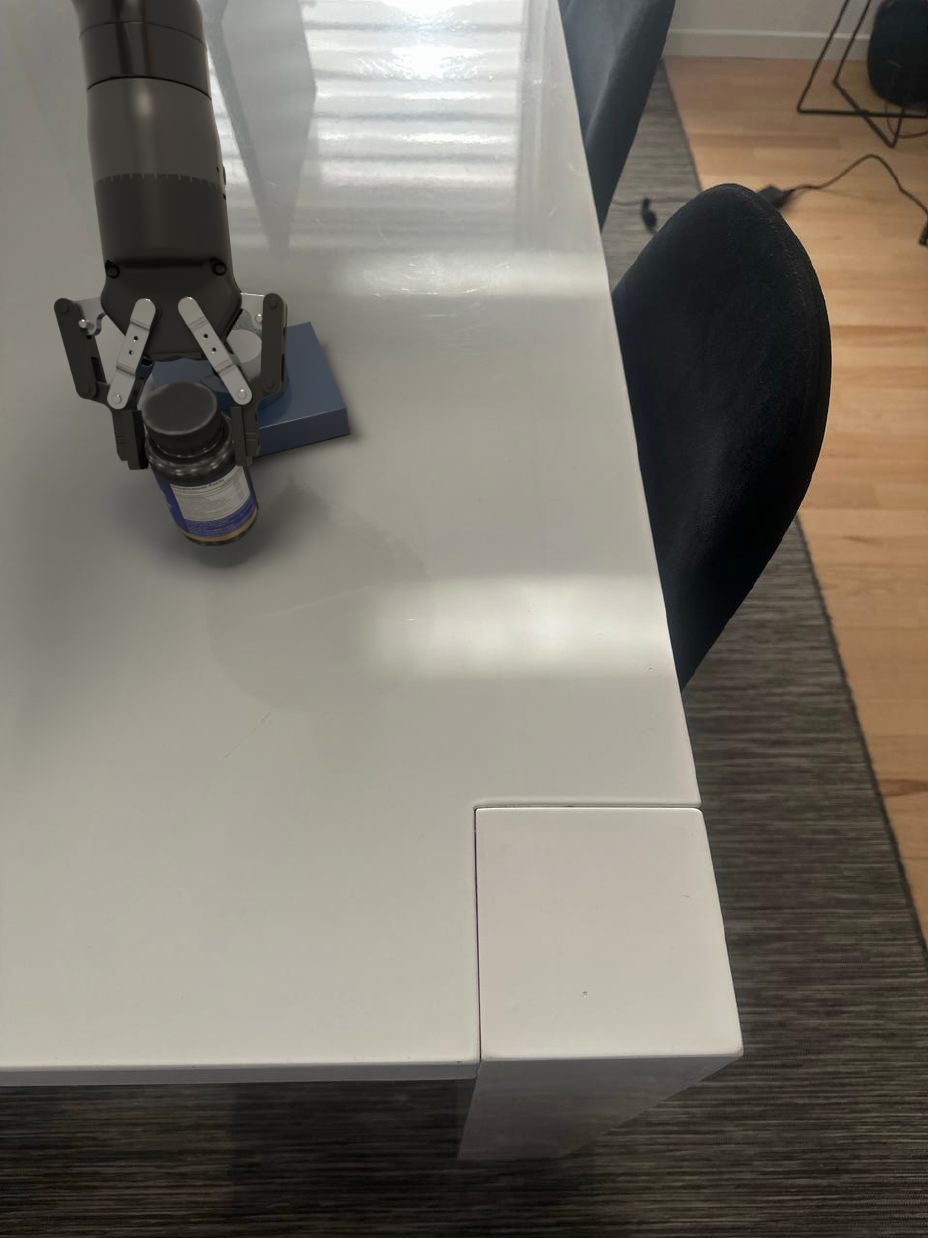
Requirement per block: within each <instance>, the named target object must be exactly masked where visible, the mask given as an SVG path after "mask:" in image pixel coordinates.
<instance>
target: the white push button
mask: <svg viewBox="0 0 928 1238" xmlns="http://www.w3.org/2000/svg"><path fill="white" fill-rule="evenodd" d="M256 334H257V333H255V332H253V331H250V330H246V329H232V331H231V332H230V334H229V336H228V337H227V340H228V342H229V343H230V345H231V347H232V348H233V350H234V352H235V354H236V355H237V357H238V359H239V360H240V362H241V364H242V367H243V369H244V371H245V372H246V374H247V376H248V377H249V379H250V381H252V380H254V379H257V378H258V377H260V374H261V344H262V341H261V339H260V338H259V337H258V336H257V335H256ZM217 374H218V373H217ZM218 376H219V374H218ZM219 377H220V376H219ZM220 378H221V377H220Z"/></svg>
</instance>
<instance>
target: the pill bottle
mask: <svg viewBox="0 0 928 1238" xmlns="http://www.w3.org/2000/svg"><path fill="white" fill-rule="evenodd" d="M141 411H142V413H141V415H142V419H143V422H144V428H145V431H146V432H147V433H146V435H145V436H146V439H145V443H144V444H145V445H144V446H145V447H144V450H145V455H146V458H147V460H148V462H149V467H150V469H151V471H152V473H153V476H154V478H155V481H156V483H157V485H158V487H159V490H160V492H161V494H162V496H163V497H162V498H163V499H164V501H165V503H166V507H167V508H168V511H169V512H170V515H171V517H172V519H173V521H174V525H175V526H176V528H177V530H178V531H179V532H180V533H181V534H182V535H183V536H184V537H185V539H187V540H188V541H190V542H191V543H194V544H196V545H199V546H201V547H221V546H225V545H230V544H233V543H235V542H236V541H238V540H241V539H243V537H245V536H246V535H247V534H248V533H249V532H250V531H251V530H252V529H253V527H254V526H255V524H256V522H257V519H258V515H259V509H260V505H259V503H260V502H259V500H258V496H257V491H256V489H255V485H254V482H253V478H252V475H251V471H250V468H249V466H237V465H236V460H235V450H234V440H233V431H232V421H231V419H230V418H229V417H228V416H227V415H225V414H224V413H222V412H221V410H220V407H219V404H218V401H217V398H216V396H215V395H214V393H213V392H212V391H211V390H210V389H209V388H208V387H206V386H204V385H202V384H200V383H197V382H193V381H176V382H171V383H168V384H165V385H163V386H160V387H158V388H157V389H155V388H154V389H153V390H152V392H150V393H149V394H147V396H146V398H145V399H144V400H143V403H142V405H141Z"/></svg>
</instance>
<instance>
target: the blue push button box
mask: <svg viewBox="0 0 928 1238" xmlns="http://www.w3.org/2000/svg"><path fill="white" fill-rule="evenodd" d="M255 334H256V335H257V336H258V337H259V338H260V339H261V341H262V331H260V332H257V333H255ZM151 377H152V381H153V385H154V390H155V389H157V388H158V387H160V386H163V385H165V384H168V383H171V382H176V381H193V382H197V383H200V384H202V385H204V386H206V387H208V388H209V389H210V390H211V391H212V392H213V393H214V395H215V396H216V398H217V401H218V404H219V407H220V410H221V412H222V413H224V414H225V415H227V416H228V417H229V418H230V419H231V411H230V407H234V400H233V397H232V396H231V394H230V392H229V391H228V389H227V387H226V386H225V384H224V382H223V381H222V379H221V378H220V377H219V376H218V374H217V372H216V371H215V369H214V368H213V366H212V365H211V363H210V361H209V360H206V361H196V360H191V359H187V358H182V359H178V360H175V361H172V362H157V361H156V362H155V365H154V367H153V370H152V373H151ZM258 378H259V377H258ZM257 413H258V423H259V434H260V445H261V448H260V451H259V455H257V456H252V459H254V458H259V457H262V456H265V455H271V454H274V453H278V452H282V451H285V450H290V449H294V448H298V447H302V446H306V445H309V444H315V443H319V442H321V441H325V440H326V441H327V440H330V439H334V438H337V437H342V436H346V435H350V423H349V414H348V407H347V405H346V402H345V400H344V397H343V395H342V392H341V390H340V388H339V386H338V383H337V381H336V379H335V376H334V374H333V372H332V369H331V366H330V365H329V362H328V360H327V358H326V355H325V352H324V350H323V348H322V345H321V343H320V341H319V339H318V336H317V334H316V331H315V329H314V327H313V324H312V322H311V321H307V322H303V323H299V324H293V325H289V326H287V337H286V362H285V386H284V390H283V391H282V392H281V393H279V394H274V395H272V396H270V397H267V398H265V399H263V400H262V401H261V402H260V403H259V404H258V407H257Z"/></svg>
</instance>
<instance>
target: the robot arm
mask: <svg viewBox="0 0 928 1238" xmlns="http://www.w3.org/2000/svg"><path fill="white" fill-rule="evenodd" d="M70 4H71V6H72V10H73V13H74V16H75V20H76V23H77V33H78V42H79V51H80V59H81V65H82V73H83V81H84V88H85V89H84V90H85V93H86V95H85V96H86V115H87V116H86V136H87V147H88V148H87V149H88V155H89V162H90V163H89V164H90V170H91V171H90V172H91V179H92V185H93V192H94V201H95V208H96V215H97V222H98V230H99V237H100V246H101V247H100V248H101V254H102V263H103V268H104V273H105V275H104V276H105V277H104V278H105V280H104V285H103V288H102V289H101V293H100V296H97V297H91V298H85V299H79V300H78V299H77V300H72V299H69V298H66V297H61V298H60V297H59V298H58V299H57V300H55V301H54V304H53V312H54V314H55V318H56V322H57V326H58V329H59V333H60V337H61V341H62V344H63V348H64V351H65V355H66V359H67V363H68V366H69V369H70V372H71V376H72V377H71V378H72V380H73V384H74V388H75V392H76V394H77V395H78V396H79V397H80V398H81V399H83V400H89V401H91V402H92V401H93V402H94V403H99V404H101V405H104V406H105V407H107V408H108V410H109V411H110V412H111V413H110V414H111V417H112V426H113V433H114V440H115V448H116V454H117V456H118V459H120V461H121V462H127V466H128V469H129V470H130V471H142V470H143V471H144V470H148V469H149V467H150V464H149V462H148V460H147V458H146V455H145V450H144V447H145V446H144V445H145V444H144V443H145V439H146V436H147V435H146V427H145V424H144V422H143V419H142V415H141V413H142V411H141V410H138V405H139V403H140V399H141V397H142V395H143V391H144V388H145V386H146V384H147V381H148V379H149V378H150V376H152V370H153V367H154V365H155V362H156V361H157V362H172V361H175V360H178V359H182V358H187V359H191V360H196V361H206V360H209V361H210V363H211V365H212V366H213V368H214V369H215V371H216V372H217V373H218V374H219V376H220V377H221V379H222V381H223V382H224V384H225V386H226V387H227V389H228V391H229V392H230V394H231V396H232V397H233V400H234V407H230V411H231V421H232V431H233V440H234V450H235V460H236V465H237V466H248V467H249V466H251V465H252V464H253V458H252V456H257V455H259V451H260V448H261V445H260V434H259V423H258V413H257V407H258V404H259V403H260V402H261V401H262V400H263V399H265V398H267V397H270V396H272V395H274V394H279V393H281V392H282V391H283V390H284V386H285V362H286V337H287V327H288V313H289V312H288V308H289V307H288V304H287V302H286V301H285V300H284V298H283V297H282V296H281V295H279V294H278V293H275V292H269V293H267V294H266V295H263V294H256V293H255V294H254V293H244V292H243V291H242V289H240V287H239V285H238V283H237V281H236V278H235V275H234V267H233V255H232V246H231V234H230V225H229V213H228V205H227V195H226V186H227V174H226V167H225V166H224V162H223V153H222V152H223V151H222V145H221V140H220V135H219V130H218V125H217V121H216V117H215V111H214V105H213V98H212V87H211V76H210V66H209V57H208V55H209V54H208V43H207V34H206V26H205V20H204V14H203V11H202V8H201V5H200V2H199V1H198V0H70ZM244 311H245V312H247V313H248V314H249V316H250V322H251V324H252V326H253V327H254V329H257V330H258V331H260V332H262V344H261V374H260V377H259V378H257V379H254V380H252V381H250V379H249V377H248V376H247V374H246V372H245V371H244V369H243V367H242V364H241V362H240V360H239V359H238V357H237V355H236V354H235V352H234V350H233V348H232V347H231V345H230V343H229V342H228V340H227V337H228V336H229V334H230V332H231V331H232V330H234V327H235V325H236V324H237V322H238V320H239V319H240V317H241V316H242V314H243V312H244ZM106 316H107V317H108V319H109V320H110V321H111V322H112V324H114V325H115V327H116V328H117V329H118V330H119V331H120V333H121V335H123V337H124V338H123V339H124V340H123V342H122V345H121V348H120V350H119V352H118V357H117V359H116V363H115V369H116V370H115V372H114V375H113V379H112V382H111V383H108V381H107V378H106V373H105V369H104V366H103V362H102V358H101V355H100V350H99V347H98V343H97V340H96V337H97V336H99V335H100V333H102V329H103V325H102V321H103V319H104V317H106Z"/></svg>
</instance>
